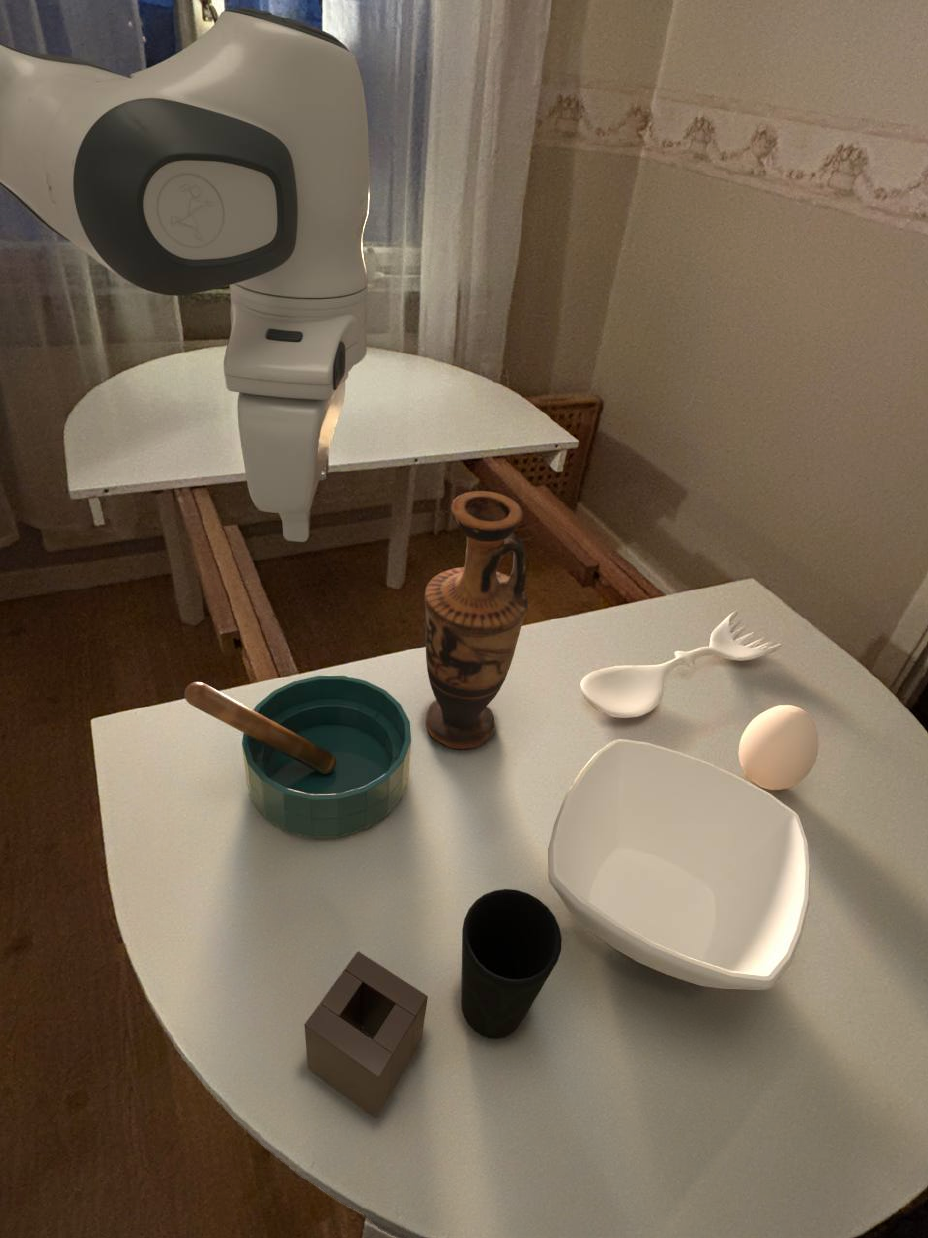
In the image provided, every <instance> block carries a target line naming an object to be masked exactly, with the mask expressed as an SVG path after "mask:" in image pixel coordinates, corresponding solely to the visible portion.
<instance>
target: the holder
mask: <svg viewBox="0 0 928 1238" xmlns="http://www.w3.org/2000/svg"><path fill="white" fill-rule="evenodd" d="M428 1000H429V996H428V995H427V994H426V993H424V992H422V990H420V989H418V988H416V987H415V986H413V985H412V984H410V983H409V982H407V981H405V979H402V978H401V977H399V976H398V975H397V974H394V973H393V972H392V971H390V970H389V969H387V968H385V967H384V966H382V965H381V964H380V963H378V962H376V961H375V960H373V959H372V958H370V957H368V956H367V955H365V954H364V953H362V952H360V950H358V951H356V953H355V954H354V955H353V956H352V958H351V960H350V961H349V963H348V964H347V965H346V967H345V968H344V970H342V972H341V973H340V975H339V976H338V977H337V979H336V980H335V982H334V983H333V984H332V986H331V987H330V988H329V989H328V991H327V992H326V994H325V995H324V997H323V998H322V1000H321V1001H320V1002H319V1003H318V1005H317V1006H316V1008H315V1009H314V1011H313V1012H312V1013H311V1015H310V1016H309V1017H308V1018H307V1020H306V1021H305V1023H304V1040H305V1051H306V1064H307V1066H306V1067H307V1070H308V1071H310V1072H312V1073H313V1074H315V1076H317V1077H318V1078H320V1079H321V1080H323V1081H324V1082H325V1083H327V1084H328V1085H329V1086H330V1087H332V1088H334V1089H335V1090H336V1091H337V1092H339V1093H340V1094H342V1095H343V1096H344V1097H345V1098H347V1099H349V1100H350V1101H351V1102H352V1103H354V1104H355V1105H357V1106H358V1107H359V1108H360V1109H362V1110H363V1111H365V1112H366V1113H368V1115H370V1116H372V1117H373V1118H374V1119H377V1117H378V1115H379V1114H380V1112H381V1110H382V1109H383V1107H384V1105H386V1102H387V1101H388V1099H389V1097H390V1095H391V1094H392V1092H393V1090H394V1088H395V1087H396V1085H397V1083H398V1082H399V1080H400V1078H401V1076H402V1074H404V1071H405V1070H406V1068H407V1066H408V1065H409V1063H410V1061H411V1059H412V1058H413V1057H414V1055H415V1052H416V1051H417V1049H418V1048H419V1046H420V1044H421V1043H422V1039H423V1033H424V1026H425V1020H426V1014H427V1013H426V1012H427V1008H428V1007H427V1005H428ZM362 1028H363V1029H364V1030H365V1031H367V1032H369V1033H370V1034H371V1035H373V1036H374V1037H373V1039H372V1038H371V1037H369V1036H368V1035H366V1034H364V1033H363V1032H362V1031H360V1030H361V1029H362Z"/></svg>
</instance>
